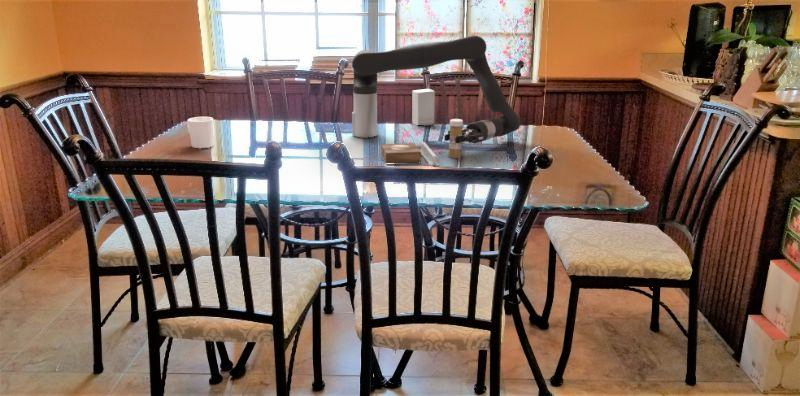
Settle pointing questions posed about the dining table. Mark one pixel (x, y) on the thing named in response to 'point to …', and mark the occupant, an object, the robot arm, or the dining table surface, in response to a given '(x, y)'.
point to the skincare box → (423, 107)
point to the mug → (201, 132)
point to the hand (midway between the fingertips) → (450, 139)
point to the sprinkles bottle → (455, 132)
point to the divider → (428, 154)
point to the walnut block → (401, 153)
